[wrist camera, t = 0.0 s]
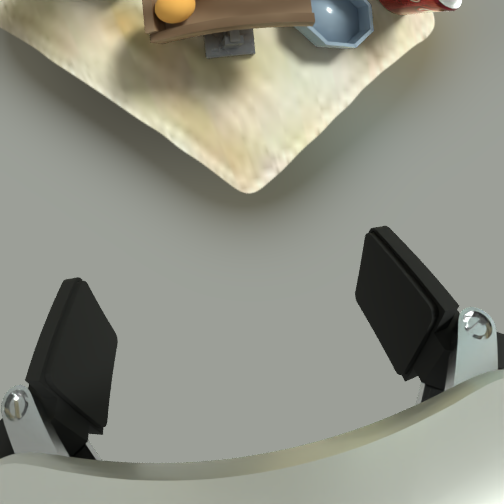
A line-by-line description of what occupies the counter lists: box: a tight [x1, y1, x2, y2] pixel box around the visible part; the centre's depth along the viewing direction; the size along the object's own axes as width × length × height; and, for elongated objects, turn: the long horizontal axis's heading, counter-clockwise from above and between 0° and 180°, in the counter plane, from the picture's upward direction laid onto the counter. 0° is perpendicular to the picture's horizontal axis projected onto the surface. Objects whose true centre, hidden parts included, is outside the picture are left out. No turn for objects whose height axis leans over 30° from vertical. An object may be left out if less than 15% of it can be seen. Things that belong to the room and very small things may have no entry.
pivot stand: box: [204, 29, 255, 59], centre depth 24 cm, size 12×6×6 cm, turn 5°
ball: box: [155, 0, 195, 24], centre depth 19 cm, size 4×4×4 cm
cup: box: [294, 0, 374, 49], centre depth 26 cm, size 10×10×4 cm
